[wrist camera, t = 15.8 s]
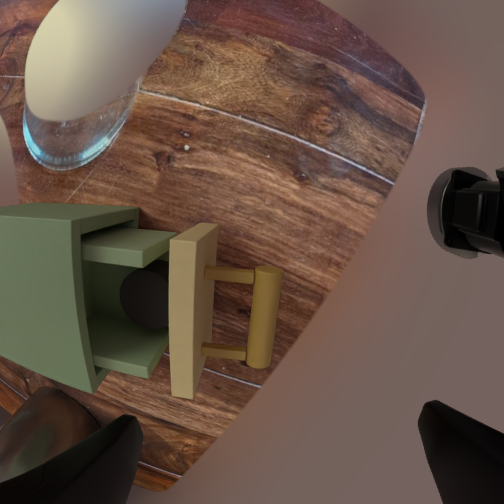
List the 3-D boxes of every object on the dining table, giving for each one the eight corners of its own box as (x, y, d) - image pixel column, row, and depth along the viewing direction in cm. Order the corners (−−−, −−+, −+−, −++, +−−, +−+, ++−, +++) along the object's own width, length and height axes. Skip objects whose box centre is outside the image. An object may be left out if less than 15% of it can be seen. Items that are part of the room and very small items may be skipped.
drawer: (281, 230, 18) (292, 251, 12) (266, 349, 20) (267, 408, 14) (89, 214, 18) (30, 225, 12) (94, 322, 20) (49, 361, 14)
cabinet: (139, 207, 19) (71, 220, 11) (140, 332, 21) (92, 394, 13) (34, 202, 19) (-37, 213, 11) (41, 308, 21) (-16, 346, 13)
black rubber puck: (188, 262, 18) (177, 274, 15) (187, 316, 18) (177, 334, 16) (135, 256, 18) (117, 266, 15) (136, 308, 18) (121, 324, 16)
